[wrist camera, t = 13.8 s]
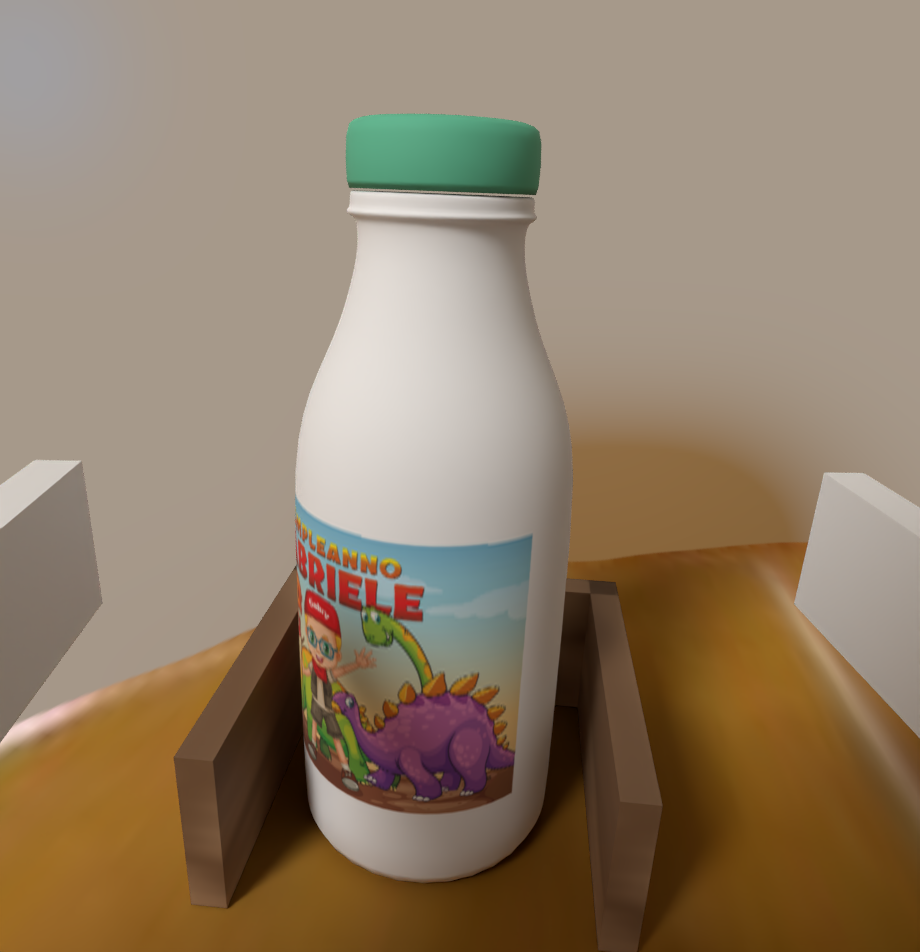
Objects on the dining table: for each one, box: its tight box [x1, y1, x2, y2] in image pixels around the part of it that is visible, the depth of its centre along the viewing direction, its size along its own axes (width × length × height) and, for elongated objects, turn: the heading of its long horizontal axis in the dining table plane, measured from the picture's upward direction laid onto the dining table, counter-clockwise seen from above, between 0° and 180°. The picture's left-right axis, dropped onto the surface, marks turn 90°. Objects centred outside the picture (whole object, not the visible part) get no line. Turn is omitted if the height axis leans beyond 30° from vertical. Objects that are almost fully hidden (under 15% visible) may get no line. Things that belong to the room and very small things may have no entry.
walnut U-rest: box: [174, 565, 663, 952], centre depth 24 cm, size 12×11×5 cm
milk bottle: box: [295, 114, 573, 883], centre depth 21 cm, size 8×8×20 cm
